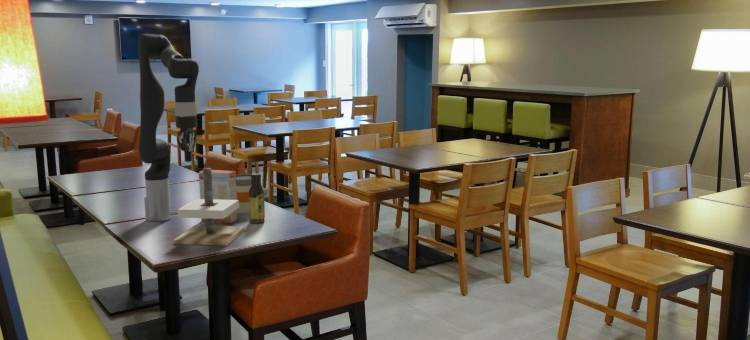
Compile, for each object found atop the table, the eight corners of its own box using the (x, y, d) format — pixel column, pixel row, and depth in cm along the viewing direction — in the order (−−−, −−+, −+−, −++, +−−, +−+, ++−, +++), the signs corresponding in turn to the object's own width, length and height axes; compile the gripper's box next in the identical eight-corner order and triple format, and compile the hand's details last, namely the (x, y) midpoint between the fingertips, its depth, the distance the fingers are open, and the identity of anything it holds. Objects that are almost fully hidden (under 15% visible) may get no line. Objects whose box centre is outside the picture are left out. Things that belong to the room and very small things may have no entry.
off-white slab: (178, 217, 226) (177, 209, 226) (196, 206, 243) (196, 198, 242) (223, 218, 224) (223, 210, 224) (238, 207, 241) (238, 199, 241)
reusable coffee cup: (256, 214, 269) (255, 179, 266) (227, 214, 269) (225, 179, 267) (262, 207, 282) (261, 174, 279) (234, 207, 282) (233, 174, 279)
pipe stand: (173, 243, 227) (169, 173, 222) (195, 228, 246) (191, 163, 242) (227, 245, 224) (223, 174, 220) (244, 230, 244) (242, 164, 239)
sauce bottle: (261, 224, 253) (259, 175, 249) (247, 223, 254) (245, 175, 251) (267, 220, 259) (265, 172, 256) (253, 219, 260) (251, 172, 257)
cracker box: (238, 220, 259) (236, 170, 255) (230, 224, 253) (228, 173, 250) (209, 217, 264) (206, 168, 260) (200, 221, 258) (198, 171, 254)
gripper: (183, 112, 235) (186, 158, 238) (168, 116, 222) (171, 164, 225) (202, 112, 234) (205, 158, 237) (188, 116, 221) (191, 164, 224)
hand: (188, 161), depth 231 cm, fingers closed
